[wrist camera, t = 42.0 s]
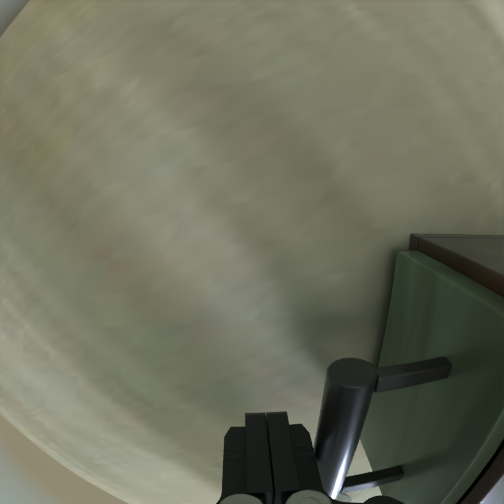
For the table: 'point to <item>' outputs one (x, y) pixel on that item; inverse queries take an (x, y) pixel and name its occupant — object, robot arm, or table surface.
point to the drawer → (420, 392)
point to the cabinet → (492, 277)
